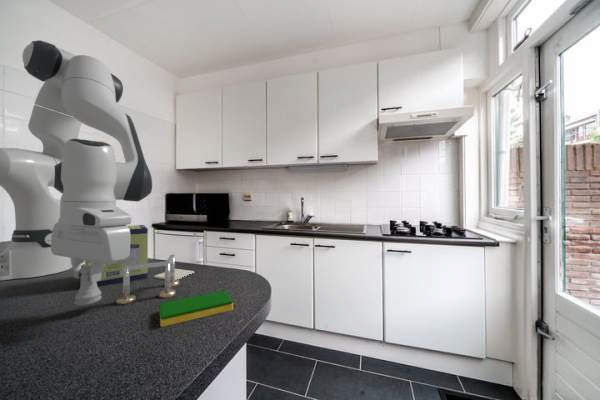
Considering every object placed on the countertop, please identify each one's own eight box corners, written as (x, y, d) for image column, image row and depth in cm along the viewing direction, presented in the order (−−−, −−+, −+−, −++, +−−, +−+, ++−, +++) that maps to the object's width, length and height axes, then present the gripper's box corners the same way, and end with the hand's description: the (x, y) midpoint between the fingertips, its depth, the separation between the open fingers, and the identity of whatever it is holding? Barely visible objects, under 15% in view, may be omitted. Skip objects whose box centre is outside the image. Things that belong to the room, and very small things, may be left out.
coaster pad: (153, 277, 72) (153, 275, 72) (175, 270, 79) (175, 268, 79) (174, 280, 69) (174, 278, 69) (194, 273, 77) (194, 271, 77)
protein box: (82, 279, 70) (82, 227, 70) (144, 270, 80) (144, 224, 80) (79, 290, 62) (79, 231, 62) (148, 278, 72) (149, 227, 72)
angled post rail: (112, 303, 54) (113, 266, 54) (169, 281, 69) (170, 252, 69) (142, 310, 51) (143, 271, 51) (196, 285, 66) (196, 255, 66)
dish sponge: (159, 313, 50) (159, 302, 50) (225, 299, 58) (225, 290, 58) (160, 329, 44) (160, 316, 44) (233, 311, 52) (233, 300, 52)
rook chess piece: (85, 307, 48) (86, 268, 48) (67, 305, 48) (68, 266, 48) (107, 298, 52) (108, 262, 52) (91, 296, 53) (91, 261, 53)
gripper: (41, 213, 50) (39, 277, 50) (104, 218, 44) (102, 292, 44) (77, 212, 56) (75, 269, 56) (137, 216, 50) (135, 281, 50)
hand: (87, 279), depth 50 cm, fingers closed on rook chess piece, 3 cm apart
